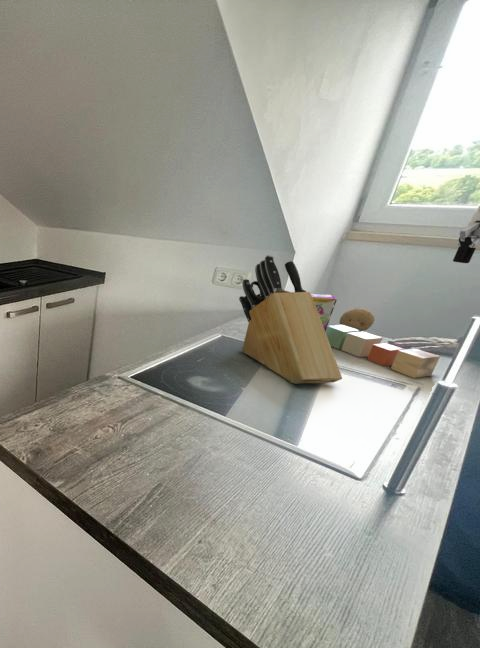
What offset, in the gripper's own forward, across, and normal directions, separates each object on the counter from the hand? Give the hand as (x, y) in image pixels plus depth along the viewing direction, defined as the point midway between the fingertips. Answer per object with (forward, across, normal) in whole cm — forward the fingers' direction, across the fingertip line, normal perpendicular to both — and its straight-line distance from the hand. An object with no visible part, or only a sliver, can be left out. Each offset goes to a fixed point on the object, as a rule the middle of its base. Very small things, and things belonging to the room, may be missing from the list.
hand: (475, 261), depth 104 cm
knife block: (+31, -42, +11) cm, 53 cm away
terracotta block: (+30, -11, +4) cm, 33 cm away
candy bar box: (+31, -20, +24) cm, 44 cm away
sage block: (+30, -11, +18) cm, 37 cm away
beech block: (+30, -11, -4) cm, 32 cm away
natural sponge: (+31, +2, +25) cm, 39 cm away
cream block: (+30, -11, +12) cm, 34 cm away
